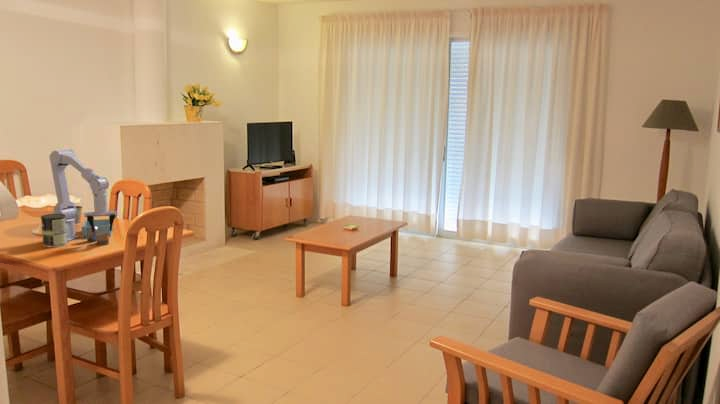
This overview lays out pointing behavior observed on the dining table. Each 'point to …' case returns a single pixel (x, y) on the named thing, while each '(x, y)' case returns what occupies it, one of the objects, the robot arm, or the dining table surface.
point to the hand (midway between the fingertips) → (102, 231)
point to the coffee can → (54, 230)
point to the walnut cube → (102, 238)
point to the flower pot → (78, 214)
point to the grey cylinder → (92, 234)
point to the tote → (102, 226)
